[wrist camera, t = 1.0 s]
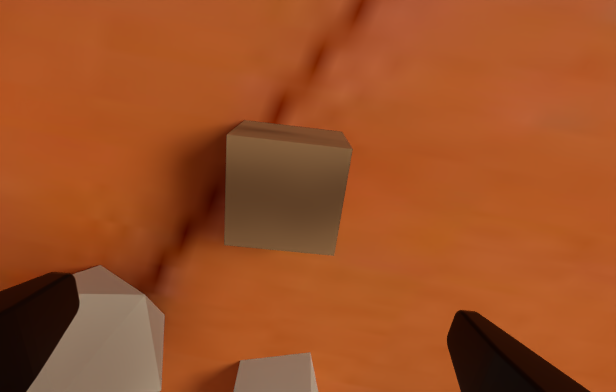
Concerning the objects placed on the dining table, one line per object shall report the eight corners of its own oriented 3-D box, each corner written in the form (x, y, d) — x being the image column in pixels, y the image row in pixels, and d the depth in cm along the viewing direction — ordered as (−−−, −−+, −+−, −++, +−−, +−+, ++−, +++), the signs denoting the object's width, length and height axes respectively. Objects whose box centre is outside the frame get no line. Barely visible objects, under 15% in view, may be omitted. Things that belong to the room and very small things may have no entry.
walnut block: (328, 217, 18) (333, 255, 14) (241, 208, 18) (224, 245, 14) (341, 131, 16) (352, 149, 12) (244, 119, 16) (226, 134, 12)
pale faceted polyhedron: (26, 283, 20) (-44, 479, 15) (-9, 226, 14) (-148, 527, 9) (163, 287, 24) (143, 445, 19) (184, 243, 18) (162, 462, 13)
